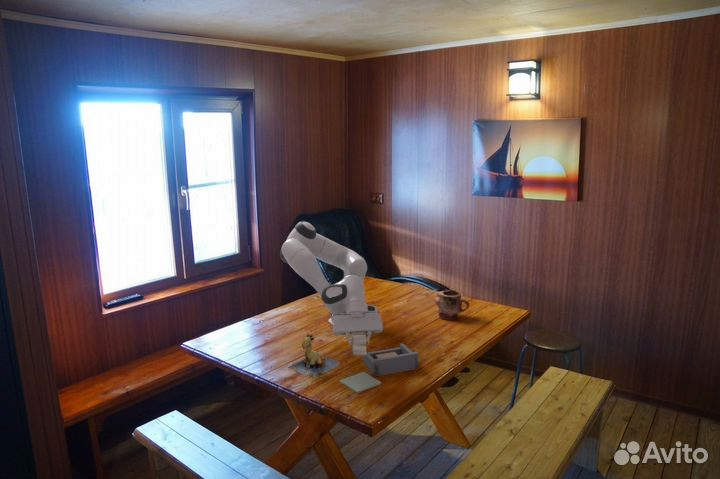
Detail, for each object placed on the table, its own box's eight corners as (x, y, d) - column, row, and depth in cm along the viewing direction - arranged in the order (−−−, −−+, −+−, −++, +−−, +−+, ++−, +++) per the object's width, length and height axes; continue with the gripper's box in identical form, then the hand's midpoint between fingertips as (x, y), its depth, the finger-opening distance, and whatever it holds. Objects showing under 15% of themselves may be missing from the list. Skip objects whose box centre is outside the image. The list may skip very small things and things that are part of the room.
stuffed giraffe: (287, 367, 228) (287, 333, 225) (318, 355, 241) (318, 322, 238) (312, 380, 218) (313, 344, 214) (343, 366, 231) (344, 332, 227)
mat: (339, 381, 215) (339, 380, 215) (363, 373, 222) (363, 371, 221) (357, 393, 205) (357, 391, 205) (381, 383, 212) (381, 382, 212)
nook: (362, 361, 233) (362, 346, 232) (403, 353, 239) (403, 339, 238) (375, 376, 218) (375, 360, 217) (418, 368, 225) (418, 353, 223)
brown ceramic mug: (473, 317, 283) (473, 292, 280) (465, 324, 272) (466, 299, 269) (437, 311, 292) (438, 287, 289) (429, 318, 282) (429, 293, 279)
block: (352, 351, 212) (352, 332, 211) (364, 350, 213) (364, 331, 211) (353, 355, 208) (353, 336, 206) (366, 354, 208) (365, 335, 207)
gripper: (331, 309, 213) (333, 342, 205) (381, 307, 215) (385, 339, 208) (330, 316, 218) (332, 348, 211) (379, 313, 220) (383, 345, 213)
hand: (359, 343), depth 209 cm, fingers closed on block, 5 cm apart
